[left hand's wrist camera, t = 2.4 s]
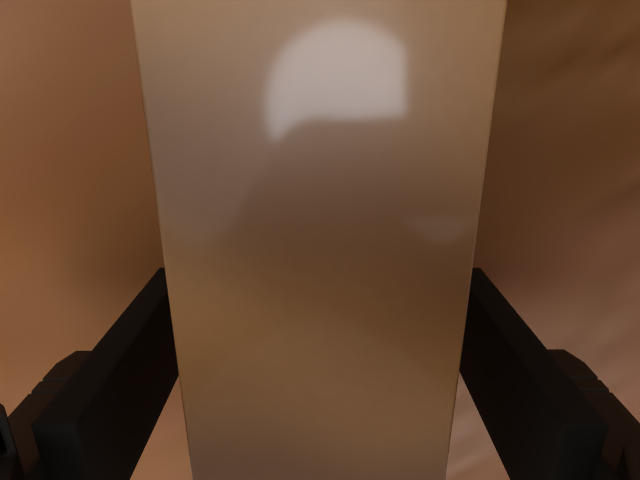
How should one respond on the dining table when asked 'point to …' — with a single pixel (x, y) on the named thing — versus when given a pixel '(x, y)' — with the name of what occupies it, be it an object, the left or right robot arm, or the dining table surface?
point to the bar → (318, 223)
